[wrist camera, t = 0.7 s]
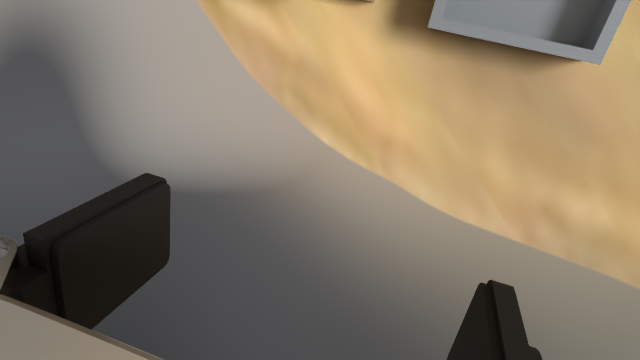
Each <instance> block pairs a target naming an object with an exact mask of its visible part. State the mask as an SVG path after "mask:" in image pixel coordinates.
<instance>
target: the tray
mask: <svg viewBox="0 0 640 360" xmlns="http://www.w3.org/2000/svg"><path fill="white" fill-rule="evenodd" d="M630 1H631V0H435V3H434V7H433V10H432V14H431V17H430V20H429V24H428V28H432V29H437V30H441V31H446V32H451V33H455V34H460V35H465V36H469V37H474V38H478V39H483V40H488V41H492V42H497V43H502V44H506V45H511V46H515V47H520V48H525V49H529V50H534V51H538V52H543V53H548V54H552V55H557V56H562V57H566V58H571V59H575V60H580V61H585V62H589V63H594V64H599V65H600V64H601V62H602V60H603V57H604V55H605V53H606V51H607V49H608V47H609V45H610V43H611V41H612V39H613V37H614V35H615V32H616V30H617V28H618V26H619V24H620V22H621V20H622V18H623V16H624V14H625V12H626V10H627V7H628V5H629V3H630Z"/></svg>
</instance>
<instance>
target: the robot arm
mask: <svg viewBox="0 0 640 360" xmlns="http://www.w3.org/2000/svg"><path fill="white" fill-rule="evenodd" d="M23 236H24V241H25V244H23V245H21V246H19V247H18V245H17V243H16V242H15V241H14V240H13V239H11V238H8V237H3V236H0V360H163V359H161V358H158V357H156V356H153V355H151V354H149V353H146V352H144V351H141V350H139V349H136V348H134V347H132V346H129V345H127V344H124V343H122V342H119V341H117V340H114V339H112V338H110V337H107V336H105V335H103V334H100V333H98V332H95V331H93V330H91V329H93V328H94V327H95V326H96V325H97V324H98V323H100V322H101V321H102V320H103V319H104V318H105V317H106V316H108V315H109V314H110V313H111V312H112V311H113V310H115V309H116V308H117V307H118V306H119V305H120V304H122V303H123V302H124V301H125V300H126V299H127V298H128V297H130V296H131V295H132V294H133V293H134V292H135V291H137V290H138V289H139V288H140V287H141V286H143V285H144V284H145V283H146V282H147V281H148V280H150V279H151V278H152V277H153V276H154V275H155V274H156V273H158V272H159V271H160V270H161V269H162V268H163V267H164V266H165V265H166V264H167V262H168V260H169V256H170V186H169V185H168V184H167V182H166V180H165V179H164V178H162V177H158V176H155V175H152V174H149V173H145V174H142V175H140V176H138V177H137V178H134V179H132V180H131V181H128V182H126V183H124V184H122V185H120V186H118V187H116V188H114V189H112V190H110V191H109V192H106V193H104V194H102V195H100V196H98V197H96V198H94V199H92V200H90V201H88V202H86V203H84V204H82V205H80V206H78V207H76V208H74V209H72V210H70V211H68V212H66V213H64V214H62V215H60V216H58V217H55V218H53V219H52V220H49V221H47V222H46V223H44V224H42V225H39V226H37V227H35V228H33V229H31V230H29V231H27V232H25V233H23ZM447 360H542V357H541V355H540V352H539V351H538V350H537V349H536V348H534V347H531V346H529V344H528V341H527V337H526V333H525V329H524V325H523V321H522V317H521V313H520V309H519V305H518V301H517V297H516V293H515V290H514V287H512V286H509V285H506V284H503V283H499V282H496V281H493V280H489V281H488V283H487V284H484V283H480V284H479V285H478V287H477V289H476V292H475V294H474V297H473V299H472V301H471V303H470V306H469V308H468V310H467V313H466V315H465V318H464V320H463V322H462V325H461V327H460V329H459V331H458V334H457V336H456V338H455V341H454V343H453V345H452V348H451V350H450V352H449V355H448V358H447Z"/></svg>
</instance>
